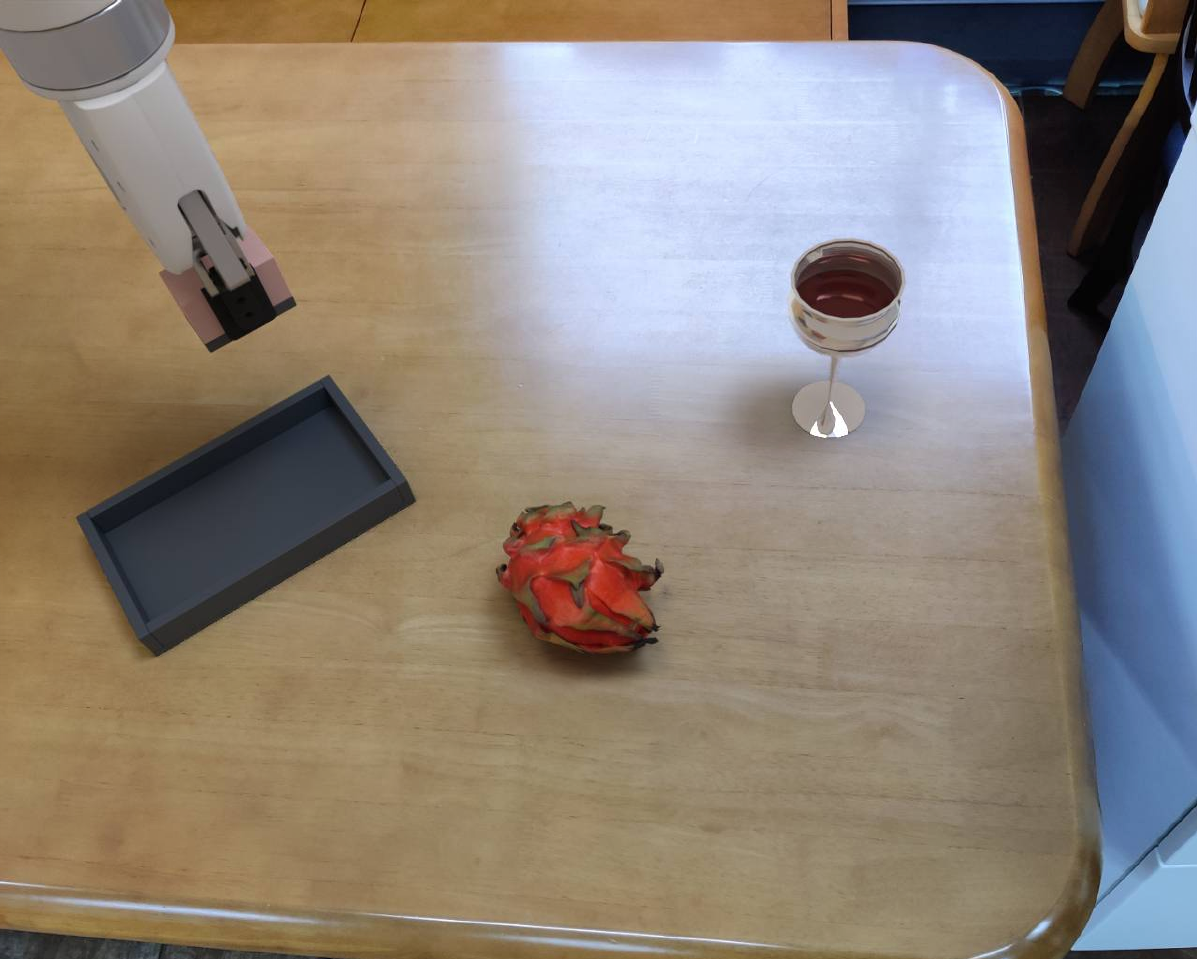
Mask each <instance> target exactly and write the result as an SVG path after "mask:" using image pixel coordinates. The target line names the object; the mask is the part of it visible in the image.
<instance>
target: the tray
mask: <svg viewBox="0 0 1197 959" xmlns="http://www.w3.org/2000/svg"><path fill="white" fill-rule="evenodd" d="M415 502H417V500H416V497H415V495H414V493H413V490H412V488H411V486H410V483H409V481H408V480H407V478H406V477H405V475H404V474H403V473H402V471H401V470H400V469H399V466H397V464H396V463H395V461H394V460H393V459H392V457H391V456H390V455H389V454H388V452H387V451H386V449H385V448H384V447H383V445H382V444H381V443H380V441H379V440H378V439H377V437H376V436H375V435H374V433H373V432H372V430H371V429H370V428H369V426H368V425H367V423H365V421H364V419H362V417H361V416H360V414H359V413H358V412H357V410H356V409H355V407H354V406H353V405H352V404H351V402H350V401H349V400H348V398H347V397H346V396H345V394H344V392H343V391H342V390H341V389H340V387H339V386H338V385H337V383H336V382H335V380H334V379H333V377H331V375H330V374H327V375H325V376H323V377H321V378H320V379H319V380H317V381H315V382H313V383H310V384H309V385H308V386H306V387H304V388H302V389H300V390H298V391H297V392H295V393H292V394H291V395H289V396H288V397H286V398H285V399H283V400H281V401H279V402H277V403H275V404H274V405H272V406H270V407H268V408H266V409H265V410H263V411H261V412H259V413H258V414H256V415H254V416H253V417H251V418H248V419H247V420H246V421H243V422H242V423H240V424H238V425H237V426H234V427H233V428H231V429H229V430H228V431H225V432H224V433H222V434H221V435H218V436H217V437H215V438H213V439H211V440H210V441H208V442H206V443H204V444H203V445H201V446H199V447H197V448H195V449H194V450H192V451H190V452H187V454H185V455H183V456H182V457H180V458H177V459H176V460H174V461H172V462H170V463H168V464H166V465H165V466H164V467H162V468H160V469H157V470H156V471H154V472H153V473H151V474H149V475H148V476H145V477H144V478H142V479H141V480H138V481H136V482H135V483H133V484H131V485H130V486H128V487H125V488H124V489H123V490H121V491H118V492H117V493H115V494H114V495H111V496H110V497H108V498H106V499H105V500H103V501H101V502H99V503H97V504H96V505H93V506H92V507H90V508H89V509H86V511H83V512H81V513H80V514H78V515H76V516H75V519H76V521H77V523H78V525H79V527H80V529H81V531H82V533H83V534H84V537H85V540H87V542H88V543H87V544H89V546H90V549H91V550H92V552H93V554H94V556H95V558H96V560H97V562H98V565H99V566H100V568H101V570H102V572H103V574H104V576H105V578H106V580H107V582H108V584H109V586H110V587H111V589H112V592H113V594H114V595H115V597H116V599H117V601H118V603H119V605H120V607H121V609H122V611H123V613H124V615H125V617H126V618H127V620H128V622H129V624H130V627H131V628H132V630H133V632H134V634H135V637H136V638H137V640H138V641H139V642H140V643H141V644H142V645H143V646H144V647H146V649H147V650H149V651H150V652H151V653H152V654H153V655H154V656H155V657H159V656H160V655H162V654H163V653H165V652H167V651H168V650H170V649H172V648H173V647H175V646H176V645H178V644H180V643H181V642H184V641H185V640H187V639H188V638H190V637H192V636H194V635H195V634H197V633H198V632H200V631H202V630H203V629H205V628H207V627H208V626H211V625H212V624H213V623H215V622H217V621H218V620H220V619H222V618H223V617H225V616H227V615H229V614H230V613H231V612H234V611H236V610H237V609H238V608H241V607H242V606H243V605H245V604H247V603H248V602H251V600H253V599H255V598H257V597H258V596H260V595H262V594H264V593H265V592H267V591H268V590H270V589H272V588H274V587H275V586H276V585H278V584H280V583H282V582H284V581H285V580H287V579H289V578H290V577H292V576H293V575H295V574H297V573H299V572H300V571H302V570H303V569H305V568H307V567H308V566H310V565H312V564H313V563H315V562H317V561H318V560H320V559H322V558H323V557H325V556H327V555H328V554H330V553H332V552H333V551H335V550H337V549H339V548H340V547H342V546H343V545H345V544H347V543H348V542H350V541H352V540H353V539H355V538H356V537H359V536H360V535H362V534H363V533H365V532H366V531H368V530H370V529H372V528H373V527H375V526H376V525H378V524H380V523H381V522H384V521H385V520H387V519H388V518H390V517H392V516H394V515H395V514H396V513H398V512H400V511H402V510H403V509H405V508H407V507H409V506H410V505H412V504H414V503H415Z"/></svg>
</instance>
